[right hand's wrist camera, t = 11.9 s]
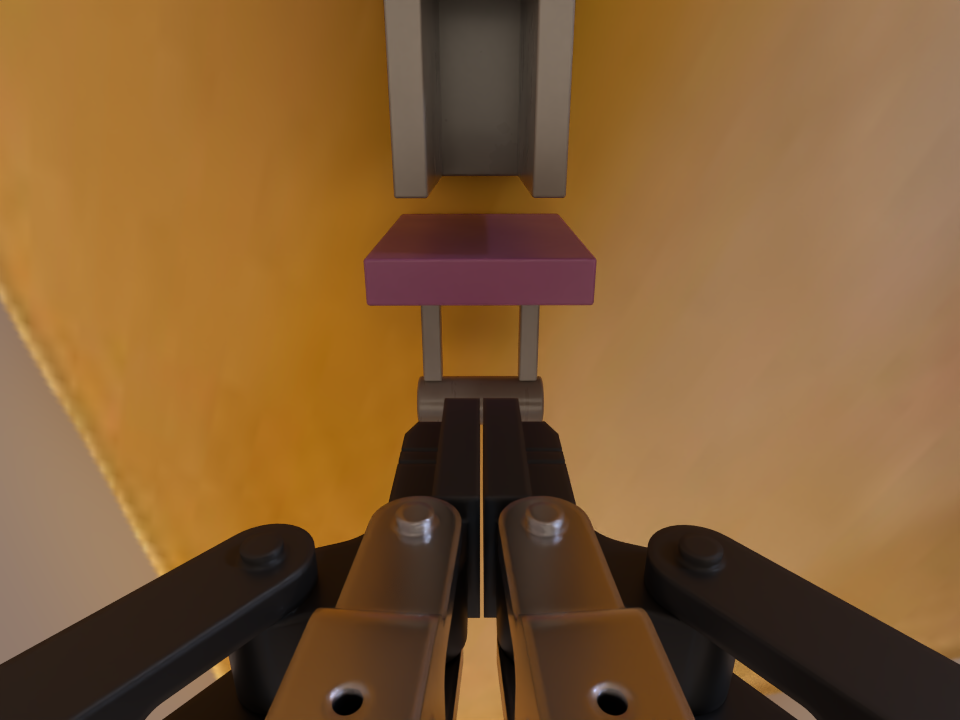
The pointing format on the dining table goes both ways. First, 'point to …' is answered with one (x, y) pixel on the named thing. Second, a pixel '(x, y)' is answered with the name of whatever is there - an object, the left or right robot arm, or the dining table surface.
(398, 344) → the dining table surface
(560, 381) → the dining table surface
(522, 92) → the drawer
